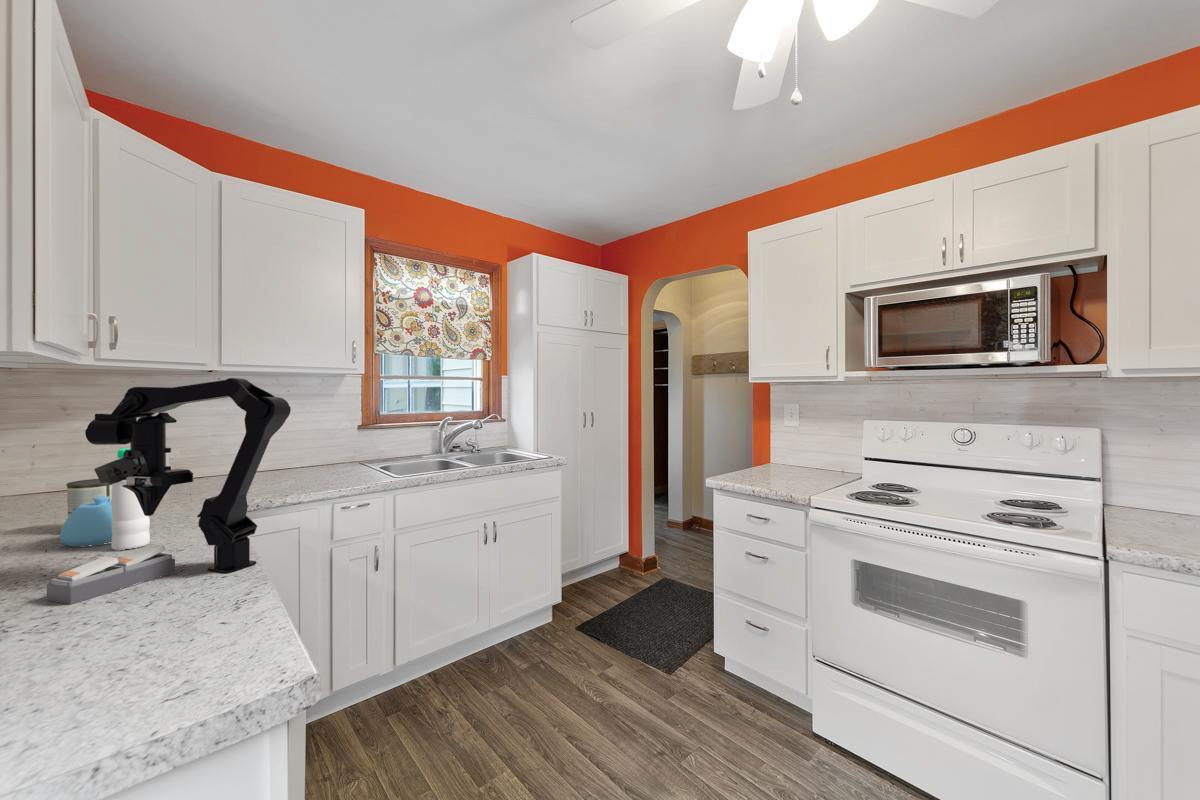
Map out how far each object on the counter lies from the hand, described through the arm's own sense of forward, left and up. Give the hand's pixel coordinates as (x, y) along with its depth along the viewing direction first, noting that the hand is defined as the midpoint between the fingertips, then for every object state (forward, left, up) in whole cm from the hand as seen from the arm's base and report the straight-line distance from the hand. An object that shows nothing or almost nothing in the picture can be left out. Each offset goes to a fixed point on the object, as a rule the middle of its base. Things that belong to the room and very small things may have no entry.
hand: (148, 515), depth 107 cm
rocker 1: (-4, +12, -7) cm, 15 cm away
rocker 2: (-4, +4, -7) cm, 9 cm away
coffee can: (+54, -18, -12) cm, 58 cm away
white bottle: (+24, -10, -12) cm, 29 cm away
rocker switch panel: (-4, +8, -12) cm, 15 cm away
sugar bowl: (+39, -12, -12) cm, 43 cm away
